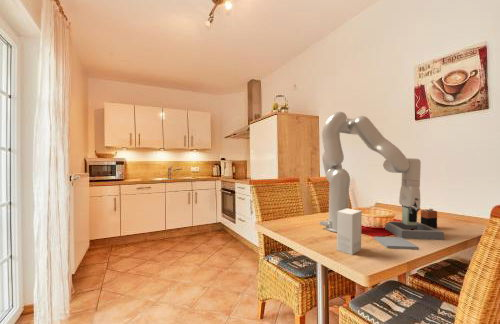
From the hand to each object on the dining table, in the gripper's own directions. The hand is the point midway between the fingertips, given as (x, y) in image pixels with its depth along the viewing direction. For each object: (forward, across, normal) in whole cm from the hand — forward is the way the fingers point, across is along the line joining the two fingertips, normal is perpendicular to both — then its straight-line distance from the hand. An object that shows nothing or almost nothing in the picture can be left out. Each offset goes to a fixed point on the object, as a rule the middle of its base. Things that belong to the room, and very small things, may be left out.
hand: (409, 220), depth 115 cm
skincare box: (+8, +27, -37) cm, 47 cm away
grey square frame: (+6, 0, +1) cm, 6 cm away
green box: (+2, 0, 0) cm, 2 cm away
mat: (+7, +17, -15) cm, 24 cm away
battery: (+6, -12, +17) cm, 22 cm away
